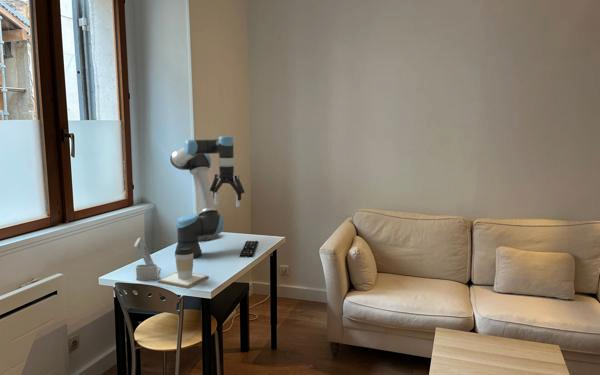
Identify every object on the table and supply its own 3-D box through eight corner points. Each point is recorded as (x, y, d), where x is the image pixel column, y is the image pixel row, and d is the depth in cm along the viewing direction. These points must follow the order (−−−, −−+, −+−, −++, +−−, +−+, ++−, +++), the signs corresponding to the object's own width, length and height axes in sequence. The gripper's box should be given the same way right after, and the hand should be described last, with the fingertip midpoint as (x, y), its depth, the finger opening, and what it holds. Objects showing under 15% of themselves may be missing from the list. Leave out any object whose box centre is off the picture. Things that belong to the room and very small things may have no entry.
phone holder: (156, 279, 221) (155, 243, 219) (135, 280, 219) (133, 244, 217) (160, 268, 238) (159, 235, 236) (140, 269, 236) (138, 235, 234)
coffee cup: (177, 281, 215) (176, 250, 213) (173, 275, 223) (172, 246, 221) (196, 278, 219) (195, 248, 217) (191, 272, 227) (191, 244, 225)
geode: (204, 243, 287) (202, 228, 286) (190, 243, 292) (187, 228, 291) (222, 235, 306) (220, 220, 304) (208, 235, 310) (206, 221, 309)
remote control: (239, 258, 258) (239, 254, 258) (246, 243, 290) (246, 240, 289) (252, 258, 258) (252, 254, 258) (258, 243, 290) (258, 240, 289)
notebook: (157, 282, 217) (157, 280, 217) (179, 272, 231) (179, 270, 231) (187, 288, 209) (187, 285, 209) (208, 277, 224) (208, 275, 224)
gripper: (250, 166, 235) (251, 206, 238) (211, 164, 246) (212, 202, 249) (243, 167, 228) (243, 208, 232) (202, 165, 239) (203, 204, 242)
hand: (227, 205), depth 240 cm, fingers open, 13 cm apart
